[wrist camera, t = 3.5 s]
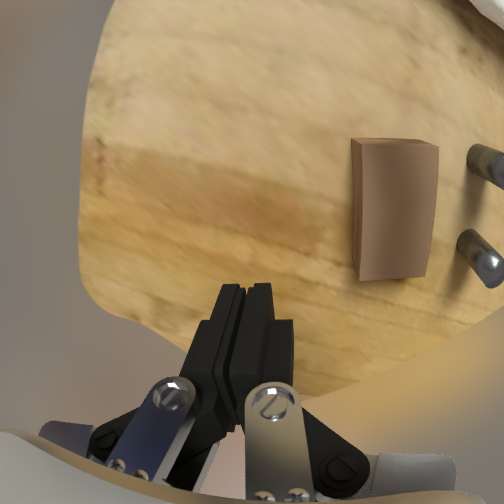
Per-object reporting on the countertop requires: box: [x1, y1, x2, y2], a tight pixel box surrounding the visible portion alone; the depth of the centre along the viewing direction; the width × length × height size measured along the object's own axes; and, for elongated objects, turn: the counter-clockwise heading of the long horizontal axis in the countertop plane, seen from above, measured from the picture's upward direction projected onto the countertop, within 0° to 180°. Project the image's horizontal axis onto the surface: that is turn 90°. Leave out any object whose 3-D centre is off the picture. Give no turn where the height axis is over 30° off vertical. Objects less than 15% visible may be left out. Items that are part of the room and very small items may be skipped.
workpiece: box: [351, 138, 439, 281], centre depth 18 cm, size 5×9×4 cm, turn 7°
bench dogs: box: [457, 144, 504, 289], centre depth 15 cm, size 2×9×5 cm, turn 7°
